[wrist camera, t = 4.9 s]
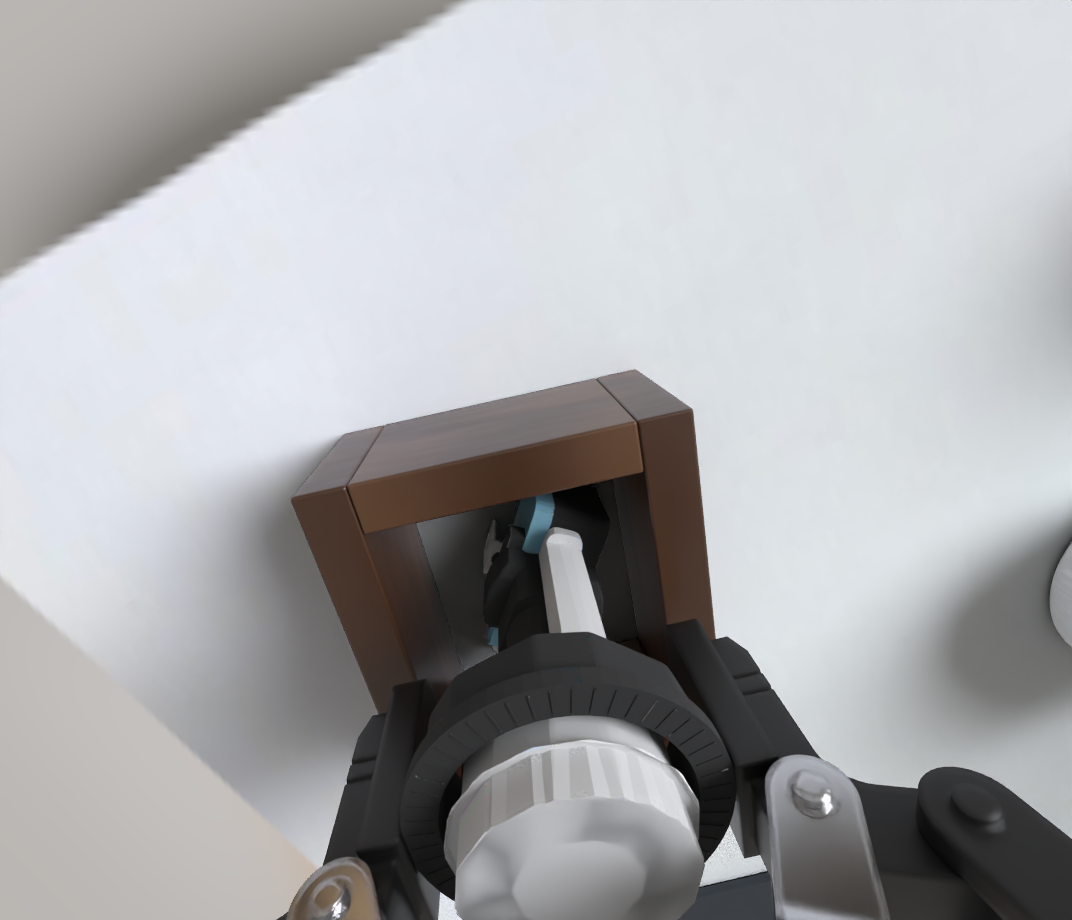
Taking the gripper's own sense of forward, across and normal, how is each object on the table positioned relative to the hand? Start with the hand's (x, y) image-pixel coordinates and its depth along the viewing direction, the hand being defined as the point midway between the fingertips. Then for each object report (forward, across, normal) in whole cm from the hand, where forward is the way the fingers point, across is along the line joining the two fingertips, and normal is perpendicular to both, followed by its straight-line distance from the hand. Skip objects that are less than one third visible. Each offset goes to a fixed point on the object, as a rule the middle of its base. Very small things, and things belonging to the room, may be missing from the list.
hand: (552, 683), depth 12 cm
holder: (+6, 0, 0) cm, 6 cm away
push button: (+6, 0, 0) cm, 6 cm away
